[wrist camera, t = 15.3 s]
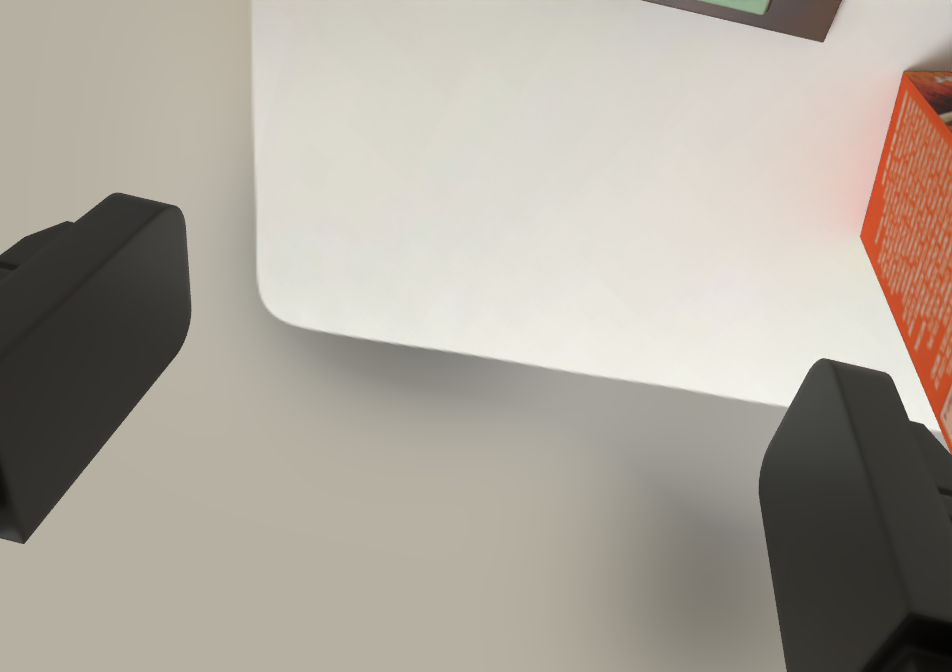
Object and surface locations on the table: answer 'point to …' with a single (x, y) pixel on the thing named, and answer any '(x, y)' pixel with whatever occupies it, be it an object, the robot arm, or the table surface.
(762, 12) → the green block
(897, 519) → the robot arm
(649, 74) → the table surface
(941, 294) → the pasta box
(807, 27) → the slot tray
